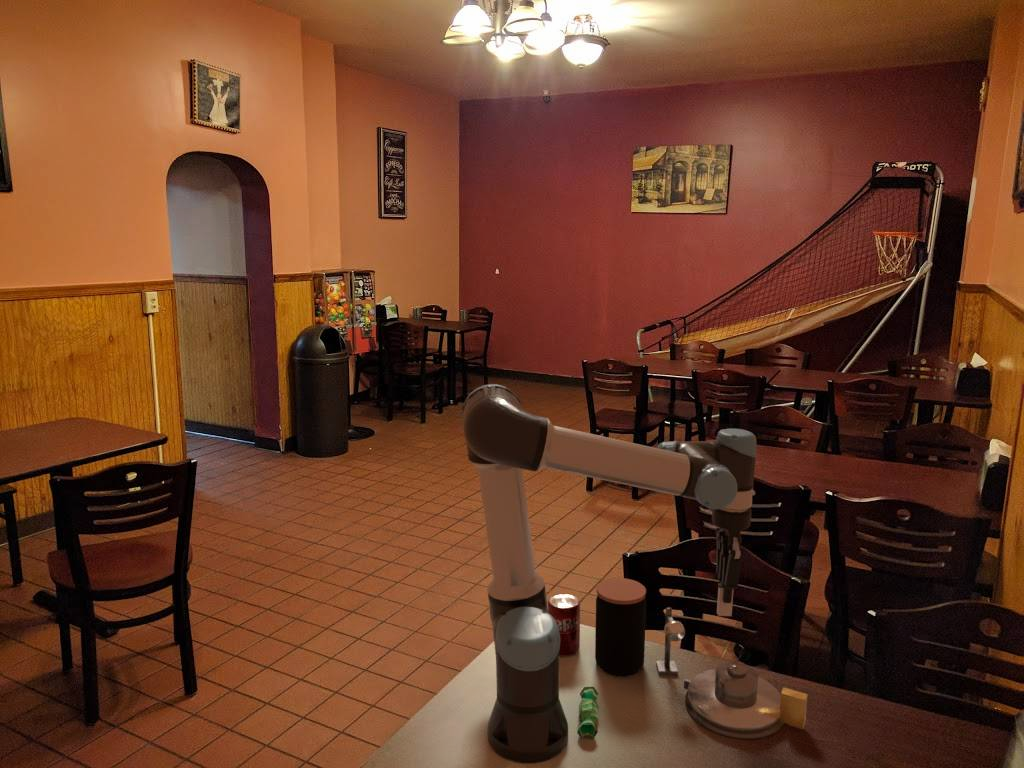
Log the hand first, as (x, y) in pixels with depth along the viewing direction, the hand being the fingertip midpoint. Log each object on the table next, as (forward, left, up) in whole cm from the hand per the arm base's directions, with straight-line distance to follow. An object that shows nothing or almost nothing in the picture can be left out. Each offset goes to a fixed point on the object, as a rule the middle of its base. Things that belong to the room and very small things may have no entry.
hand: (724, 614), depth 153 cm
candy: (-29, -13, -16) cm, 35 cm away
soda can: (-33, +12, -16) cm, 38 cm away
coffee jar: (-21, +6, -16) cm, 27 cm away
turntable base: (0, -9, -16) cm, 18 cm away
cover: (0, -9, -13) cm, 16 cm away
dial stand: (-11, +1, -16) cm, 19 cm away
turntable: (+2, -9, -15) cm, 17 cm away
